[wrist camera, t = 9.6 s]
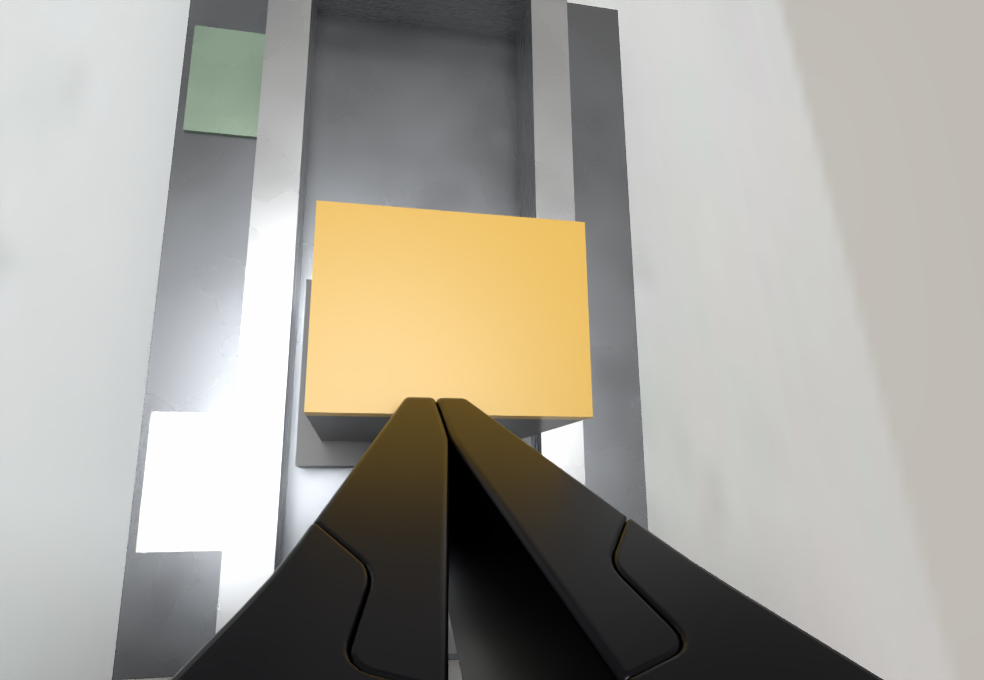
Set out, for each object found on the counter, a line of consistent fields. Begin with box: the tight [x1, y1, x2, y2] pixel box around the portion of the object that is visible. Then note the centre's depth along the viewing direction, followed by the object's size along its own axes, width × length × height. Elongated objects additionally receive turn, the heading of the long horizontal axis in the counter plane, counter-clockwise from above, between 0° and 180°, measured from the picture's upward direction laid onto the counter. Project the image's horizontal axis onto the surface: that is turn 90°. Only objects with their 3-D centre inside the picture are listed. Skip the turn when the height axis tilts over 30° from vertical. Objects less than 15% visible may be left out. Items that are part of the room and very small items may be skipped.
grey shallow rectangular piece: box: [112, 0, 648, 680], centre depth 16 cm, size 18×12×3 cm, turn 0°
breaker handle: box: [295, 200, 593, 468], centre depth 12 cm, size 4×5×7 cm
